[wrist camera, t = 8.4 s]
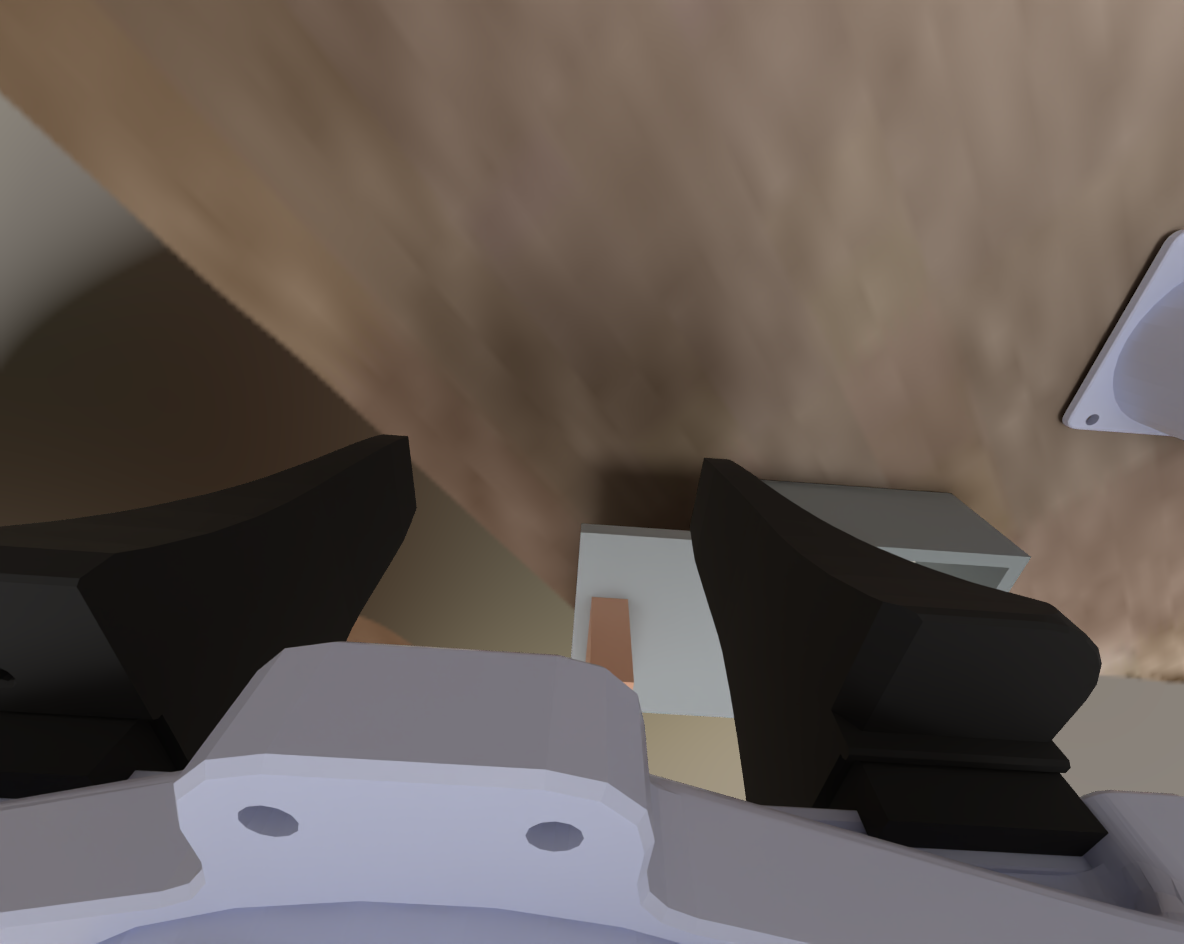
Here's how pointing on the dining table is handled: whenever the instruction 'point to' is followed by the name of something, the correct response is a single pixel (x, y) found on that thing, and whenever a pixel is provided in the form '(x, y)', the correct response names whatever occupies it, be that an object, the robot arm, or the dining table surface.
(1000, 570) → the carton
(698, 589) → the lid
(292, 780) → the robot arm
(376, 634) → the dining table surface
